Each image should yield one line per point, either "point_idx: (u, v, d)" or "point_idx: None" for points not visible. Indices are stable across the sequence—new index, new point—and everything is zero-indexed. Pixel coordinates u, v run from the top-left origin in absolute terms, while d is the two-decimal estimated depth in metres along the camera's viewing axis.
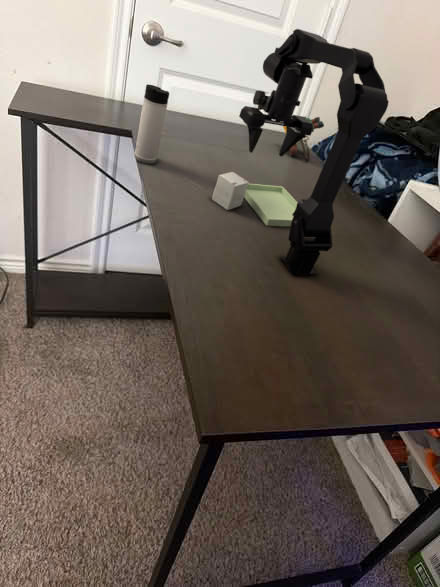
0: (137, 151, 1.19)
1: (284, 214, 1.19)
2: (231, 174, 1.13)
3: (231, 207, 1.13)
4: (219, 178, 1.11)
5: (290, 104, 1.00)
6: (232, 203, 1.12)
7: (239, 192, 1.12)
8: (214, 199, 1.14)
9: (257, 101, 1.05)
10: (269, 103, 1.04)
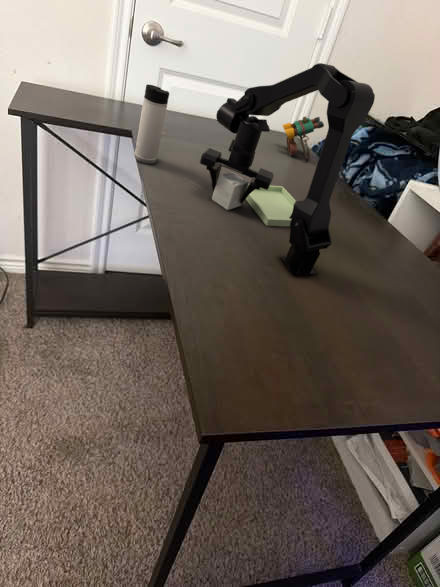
0: (137, 151, 1.19)
1: (284, 214, 1.19)
2: (231, 174, 1.13)
3: (231, 207, 1.13)
4: (219, 178, 1.11)
5: (240, 152, 1.04)
6: (232, 203, 1.12)
7: (239, 192, 1.12)
8: (214, 199, 1.14)
9: (229, 148, 1.12)
10: None
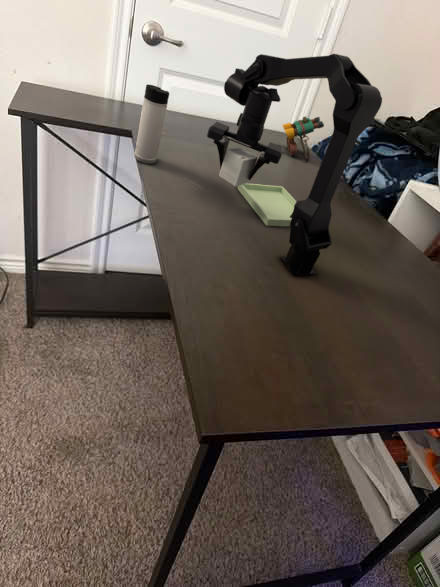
0: (137, 151, 1.19)
1: (284, 214, 1.19)
2: (239, 149, 1.09)
3: (239, 183, 1.09)
4: (226, 153, 1.07)
5: (249, 124, 1.00)
6: (240, 179, 1.08)
7: (247, 168, 1.07)
8: (221, 175, 1.10)
9: (237, 122, 1.08)
10: None
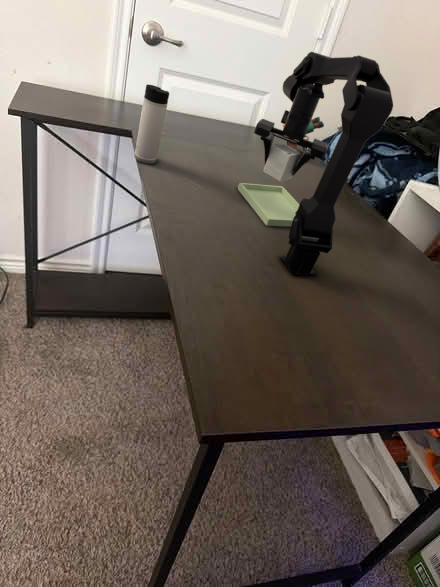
0: (137, 151, 1.19)
1: (284, 214, 1.19)
2: (283, 145, 1.12)
3: (283, 179, 1.12)
4: (272, 149, 1.10)
5: (297, 121, 1.03)
6: (285, 174, 1.11)
7: (292, 163, 1.11)
8: (266, 171, 1.13)
9: None
10: None
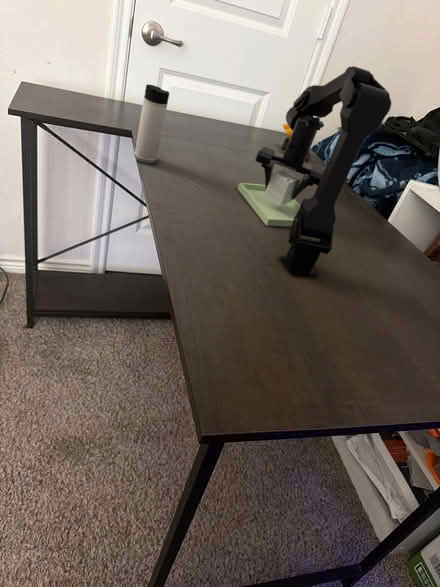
0: (137, 151, 1.19)
1: (284, 214, 1.19)
2: (283, 171, 1.17)
3: (283, 203, 1.18)
4: (272, 175, 1.15)
5: (296, 150, 1.09)
6: (285, 199, 1.17)
7: (291, 189, 1.16)
8: (266, 195, 1.19)
9: None
10: None
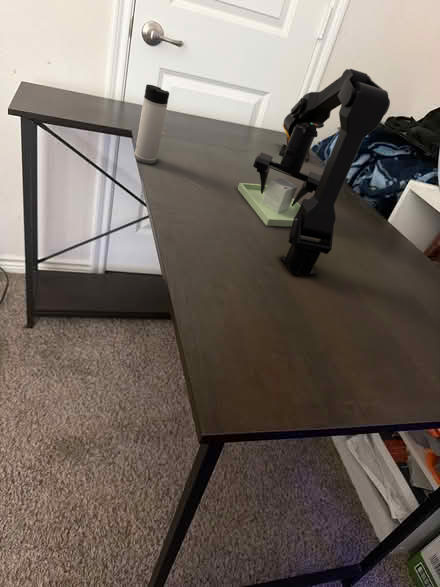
0: (137, 151, 1.19)
1: (284, 214, 1.19)
2: (280, 179, 1.19)
3: (280, 210, 1.19)
4: (270, 183, 1.17)
5: (294, 156, 1.10)
6: (282, 206, 1.18)
7: (288, 196, 1.17)
8: (264, 203, 1.20)
9: (279, 152, 1.18)
10: None
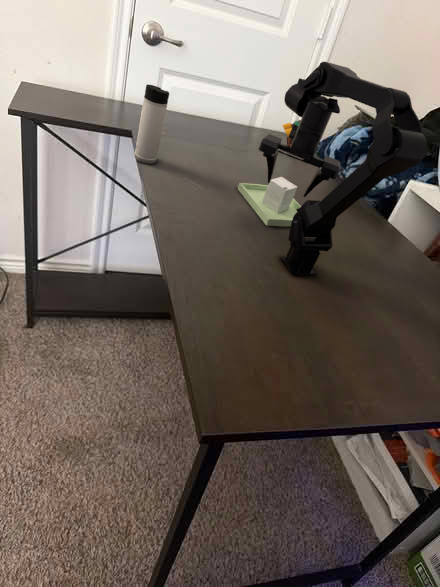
0: (137, 151, 1.19)
1: (284, 214, 1.19)
2: (280, 179, 1.19)
3: (280, 210, 1.19)
4: (270, 183, 1.17)
5: (307, 137, 0.93)
6: (282, 206, 1.18)
7: (288, 196, 1.17)
8: (264, 203, 1.20)
9: (289, 134, 1.01)
10: None
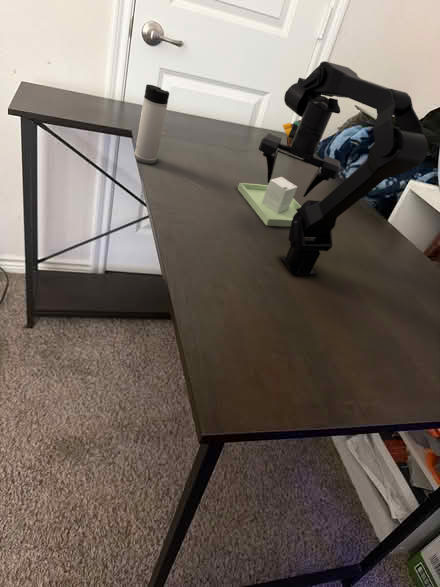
0: (137, 151, 1.19)
1: (284, 214, 1.19)
2: (280, 179, 1.19)
3: (280, 210, 1.19)
4: (270, 183, 1.17)
5: (307, 137, 0.93)
6: (282, 206, 1.18)
7: (288, 196, 1.17)
8: (264, 203, 1.20)
9: None
10: None
